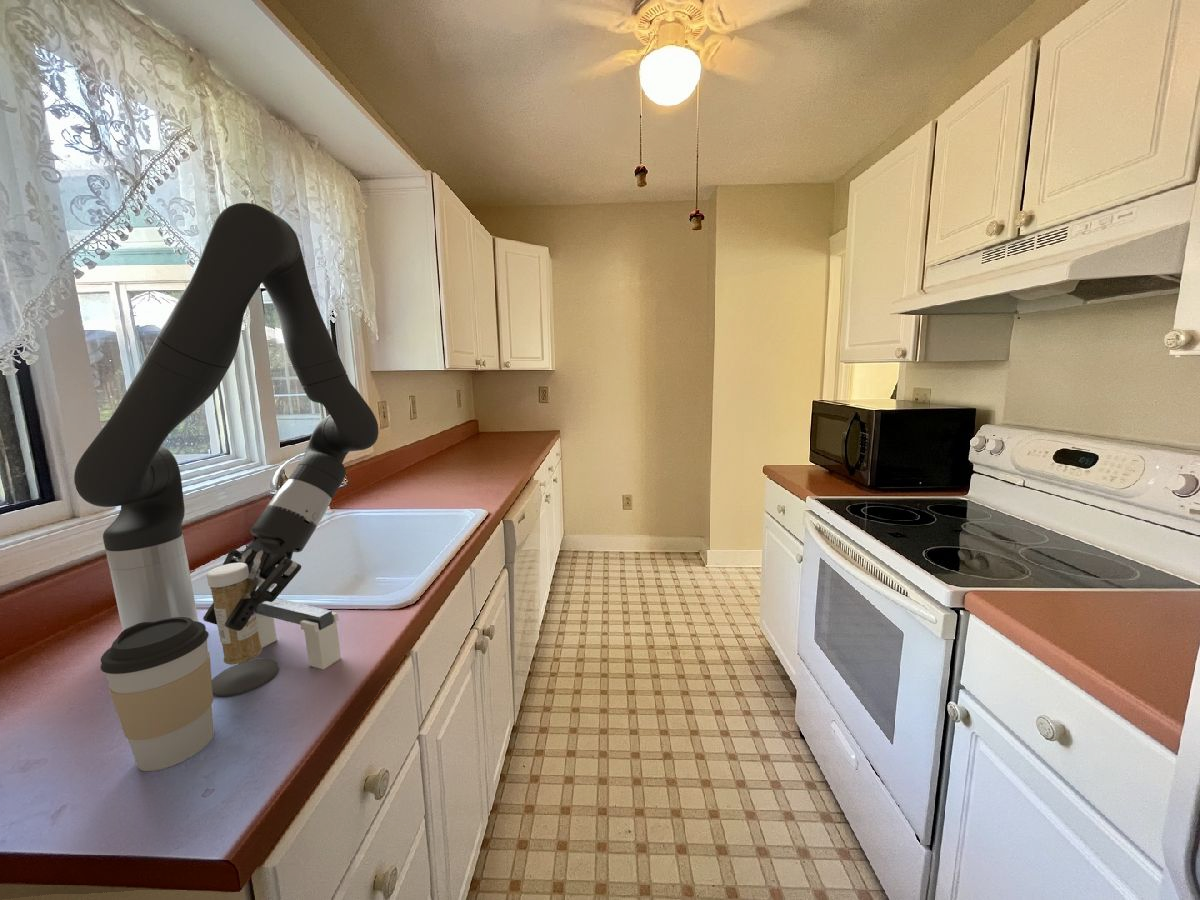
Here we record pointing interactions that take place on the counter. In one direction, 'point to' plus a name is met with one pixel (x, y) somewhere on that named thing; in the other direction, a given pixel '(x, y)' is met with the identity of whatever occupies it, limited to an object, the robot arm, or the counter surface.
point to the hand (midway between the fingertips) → (221, 625)
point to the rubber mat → (244, 677)
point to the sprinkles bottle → (226, 595)
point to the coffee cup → (162, 690)
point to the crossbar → (295, 612)
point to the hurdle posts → (307, 639)
